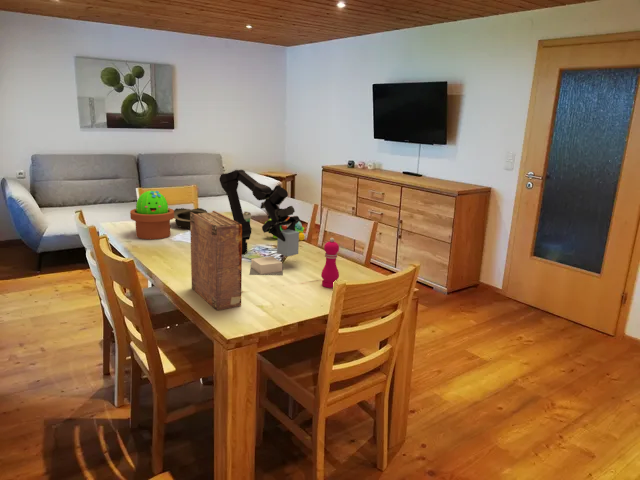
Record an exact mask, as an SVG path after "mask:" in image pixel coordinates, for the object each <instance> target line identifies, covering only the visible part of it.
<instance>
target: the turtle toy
mask: <svg viewBox="0 0 640 480" xmlns="http://www.w3.org/2000/svg"><path fill="white" fill-rule="evenodd" d="M290 217H291V216H288V218H287V219H286V220H288V219H289V218H290ZM269 220H271V218H270V219H268V220H267V221H269ZM267 221H265V222H264V224H265V223H266V222H267ZM286 229H287V226H286V225H283V226H280V230H281V231H282V230H286ZM304 230H305V227H304V226H303V225H302V222H301V221H299V222H298V223H297V224H296V225H295V231H297V232H299V241H301V242H302V241H304V240H305V238H306V237H305V234H304ZM269 231H270V230H269ZM272 238H273V239H278V237H276V236H274V235H273V234H272Z"/></svg>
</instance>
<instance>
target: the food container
mask: <svg viewBox="0 0 640 480" xmlns="http://www.w3.org/2000/svg"><path fill="white" fill-rule="evenodd" d="M243 216H244V219H245V220H246V221H249V222H250V223H251V218H252V217H253V216H252V213H251V212H249V211H243Z"/></svg>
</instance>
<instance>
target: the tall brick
mask: <svg viewBox="0 0 640 480" xmlns="http://www.w3.org/2000/svg"><path fill="white" fill-rule="evenodd" d="M281 232H282V234H283V236H284V238H285V241H282V240H281V239H279V238H277V241H276V243H277V244H276V245H277V247H276V249H277V250H276V253H277V254H279V255H282V256H284V257H292V256H295V255H298V254H299V241H300V240H299V232H297V231H293V230H290V229H287V230H282V231H281Z"/></svg>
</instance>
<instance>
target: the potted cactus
mask: <svg viewBox="0 0 640 480" xmlns="http://www.w3.org/2000/svg"><path fill="white" fill-rule="evenodd" d="M174 210H175V209H172V208H170V207H169V205H168V201H167V200H166V197H165V195H163V194H162V193H161V192H160V191H158V190H148V191H147V190H146V191H143V192H142V194H140V196H138V198H137V201H136V205H135V208H134V209H131V210H130V212H129V216H130V220H132V221H134V222H135V236H136V237H137V238H138V239H140V240H141V239H142V240H162V239H166V238H169V237H170V236H171V220H174Z"/></svg>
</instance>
